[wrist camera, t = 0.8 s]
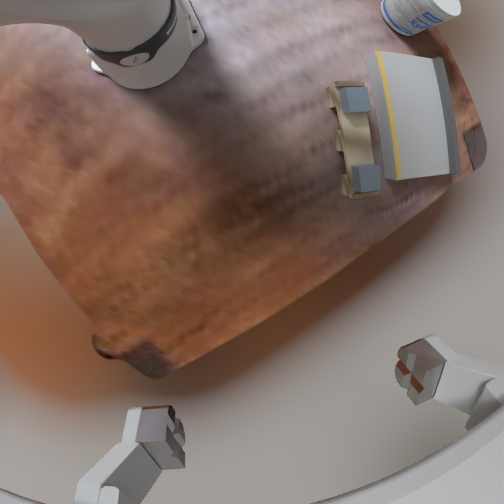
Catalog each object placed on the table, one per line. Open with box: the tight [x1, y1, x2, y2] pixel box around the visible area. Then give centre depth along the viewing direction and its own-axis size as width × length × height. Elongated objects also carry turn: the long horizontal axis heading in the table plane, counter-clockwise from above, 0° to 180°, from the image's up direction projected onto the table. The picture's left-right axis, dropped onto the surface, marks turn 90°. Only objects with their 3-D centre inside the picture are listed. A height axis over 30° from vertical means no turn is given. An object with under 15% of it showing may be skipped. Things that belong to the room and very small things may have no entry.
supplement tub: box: [381, 0, 461, 36], centre depth 31 cm, size 10×10×15 cm
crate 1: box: [339, 87, 371, 114], centre depth 39 cm, size 4×4×2 cm
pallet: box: [326, 81, 380, 200], centre depth 43 cm, size 19×5×4 cm, turn 10°
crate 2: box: [351, 164, 382, 193], centre depth 43 cm, size 4×4×2 cm
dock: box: [364, 51, 460, 180], centre depth 42 cm, size 23×15×6 cm, turn 10°
